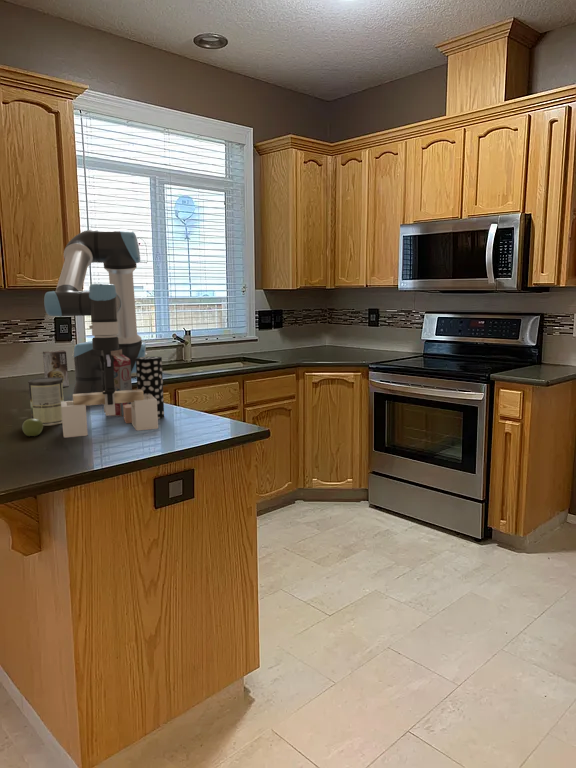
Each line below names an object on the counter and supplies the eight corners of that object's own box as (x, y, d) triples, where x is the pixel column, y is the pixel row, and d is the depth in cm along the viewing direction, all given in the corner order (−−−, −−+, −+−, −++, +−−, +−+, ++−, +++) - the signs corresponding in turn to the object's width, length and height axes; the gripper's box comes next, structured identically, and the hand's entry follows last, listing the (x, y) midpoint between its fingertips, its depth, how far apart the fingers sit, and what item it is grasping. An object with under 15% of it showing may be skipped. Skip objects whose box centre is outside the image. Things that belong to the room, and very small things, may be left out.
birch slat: (74, 406, 171) (73, 396, 170) (73, 404, 175) (72, 394, 175) (143, 401, 178) (143, 391, 178) (141, 398, 183) (141, 389, 182)
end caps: (63, 437, 169) (61, 407, 167) (62, 430, 177) (60, 401, 176) (158, 428, 179) (156, 399, 178) (152, 422, 188) (151, 394, 186)
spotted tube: (134, 417, 196) (130, 358, 193) (155, 413, 201) (152, 355, 198) (147, 421, 190) (144, 359, 187) (169, 417, 196) (166, 357, 192)
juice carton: (133, 412, 204) (129, 349, 201) (122, 416, 198) (118, 351, 194) (116, 411, 206) (113, 349, 203) (105, 415, 200) (101, 351, 196)
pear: (20, 419, 168) (24, 418, 177) (21, 438, 168) (25, 436, 177) (41, 417, 169) (44, 417, 179) (42, 436, 169) (45, 434, 179)
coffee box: (66, 384, 270) (63, 349, 267) (69, 386, 264) (66, 351, 262) (45, 386, 265) (42, 351, 262) (47, 388, 260) (45, 352, 257)
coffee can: (25, 423, 189) (21, 380, 187) (55, 417, 197) (52, 376, 194) (41, 427, 182) (38, 382, 180) (72, 421, 190) (69, 378, 188)
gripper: (89, 335, 180) (94, 409, 184) (94, 338, 164) (99, 420, 168) (115, 334, 183) (119, 407, 187) (121, 337, 167) (126, 417, 171)
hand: (109, 413), depth 177 cm, fingers closed on birch slat, 4 cm apart
